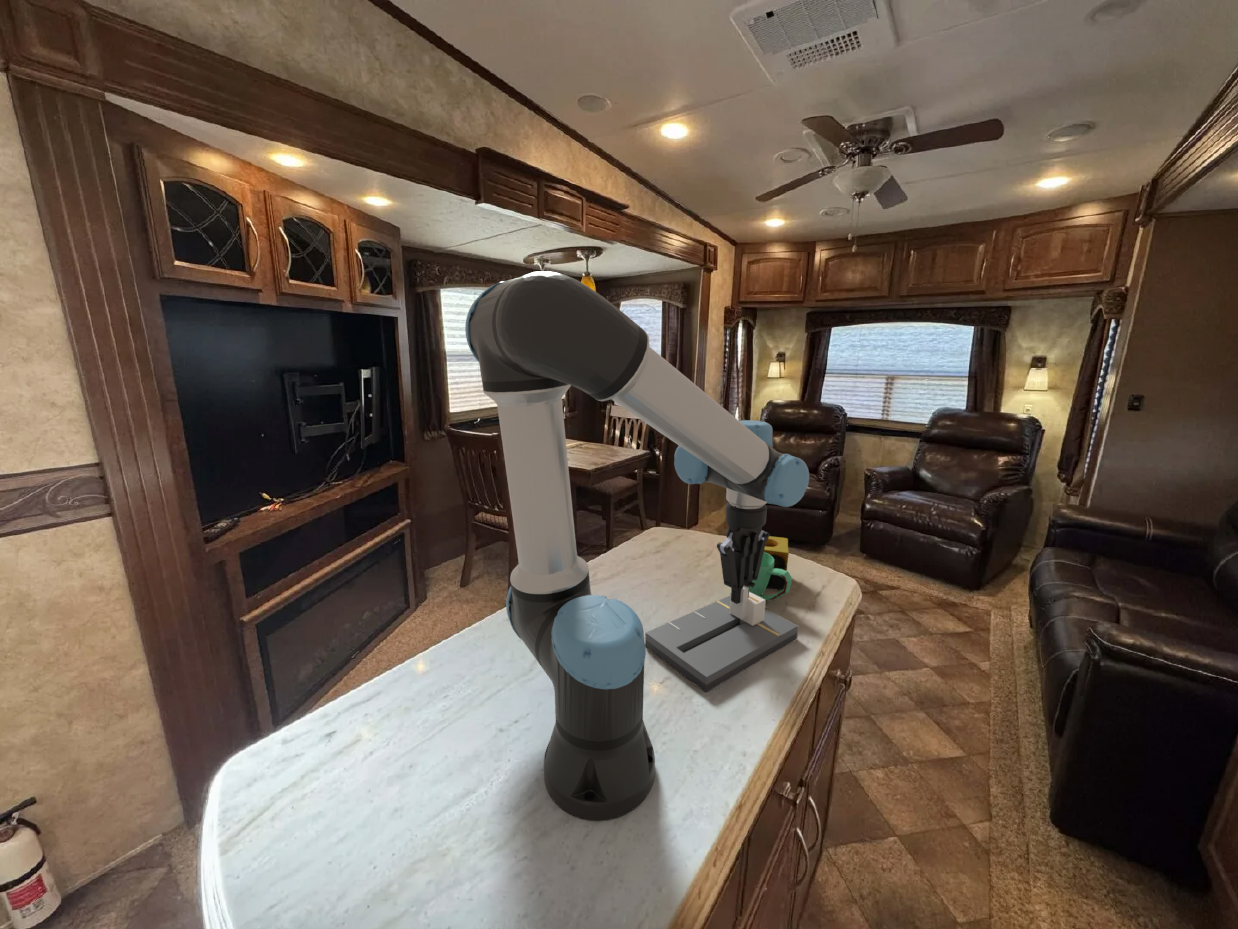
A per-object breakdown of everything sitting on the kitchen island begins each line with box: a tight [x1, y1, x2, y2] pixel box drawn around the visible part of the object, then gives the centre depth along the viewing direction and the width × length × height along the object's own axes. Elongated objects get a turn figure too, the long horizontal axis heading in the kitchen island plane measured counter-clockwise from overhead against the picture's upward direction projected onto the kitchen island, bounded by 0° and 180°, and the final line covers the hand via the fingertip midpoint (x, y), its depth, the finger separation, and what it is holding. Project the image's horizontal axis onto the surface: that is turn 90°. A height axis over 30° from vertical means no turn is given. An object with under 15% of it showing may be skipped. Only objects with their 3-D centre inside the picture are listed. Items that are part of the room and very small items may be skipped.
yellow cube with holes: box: [764, 535, 790, 591], centre depth 120 cm, size 10×10×10 cm
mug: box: [749, 552, 793, 602], centre depth 110 cm, size 15×10×10 cm
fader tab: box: [729, 592, 767, 626], centre depth 98 cm, size 4×6×6 cm, turn 36°
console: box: [644, 595, 799, 693], centre depth 95 cm, size 26×16×3 cm, turn 127°
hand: (738, 615), depth 97 cm, fingers closed
